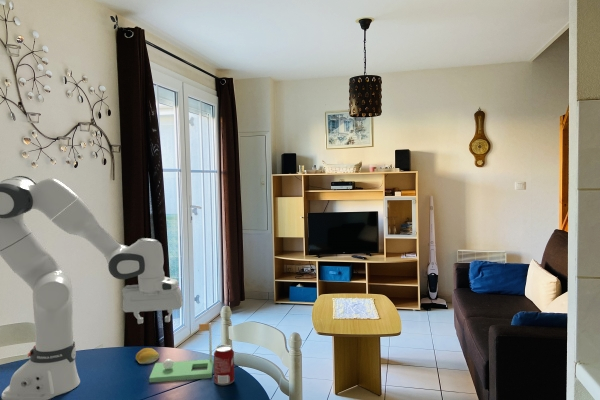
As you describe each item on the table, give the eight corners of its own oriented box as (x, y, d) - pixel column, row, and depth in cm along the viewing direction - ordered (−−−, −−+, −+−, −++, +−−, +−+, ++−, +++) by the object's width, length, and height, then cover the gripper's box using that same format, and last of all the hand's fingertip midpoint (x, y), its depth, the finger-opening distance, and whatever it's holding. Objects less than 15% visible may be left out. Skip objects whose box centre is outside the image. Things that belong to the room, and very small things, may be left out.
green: (149, 382, 148) (148, 337, 148) (155, 367, 160) (154, 326, 159) (211, 377, 152) (210, 334, 151) (213, 363, 163) (212, 322, 163)
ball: (162, 371, 153) (162, 361, 153) (164, 367, 157) (163, 357, 156) (172, 370, 154) (172, 361, 153) (174, 366, 157) (174, 356, 157)
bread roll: (140, 366, 161) (140, 356, 161) (133, 358, 169) (133, 348, 168) (162, 361, 166) (162, 350, 166) (155, 353, 173) (154, 343, 173)
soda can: (230, 387, 144) (229, 352, 144) (211, 385, 146) (210, 351, 145) (237, 378, 151) (236, 344, 150) (218, 376, 152) (218, 343, 152)
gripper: (118, 287, 148) (121, 327, 149) (179, 284, 150) (181, 323, 151) (124, 283, 154) (127, 321, 155) (182, 280, 156) (184, 317, 157)
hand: (154, 322), depth 153 cm, fingers open, 8 cm apart
